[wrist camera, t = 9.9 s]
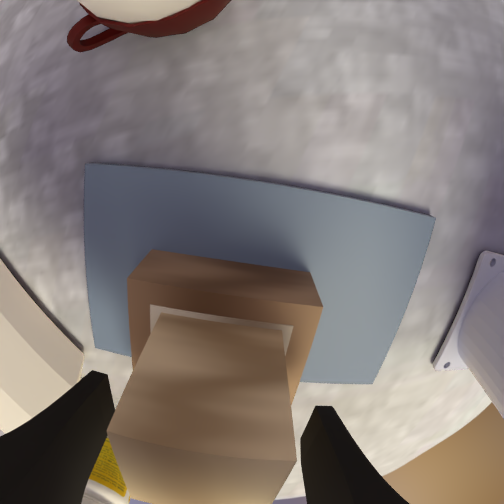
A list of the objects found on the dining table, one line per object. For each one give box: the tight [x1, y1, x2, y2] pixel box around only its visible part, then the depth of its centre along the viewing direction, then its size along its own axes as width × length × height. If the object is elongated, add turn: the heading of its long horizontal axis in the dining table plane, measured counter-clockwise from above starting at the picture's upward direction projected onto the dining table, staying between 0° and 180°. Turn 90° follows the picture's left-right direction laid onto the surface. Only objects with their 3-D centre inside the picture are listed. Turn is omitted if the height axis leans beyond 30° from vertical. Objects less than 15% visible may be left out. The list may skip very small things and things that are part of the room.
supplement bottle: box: [81, 436, 131, 504], centre depth 15 cm, size 5×5×8 cm
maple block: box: [107, 312, 297, 504], centre depth 9 cm, size 4×4×6 cm
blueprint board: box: [84, 163, 436, 384], centre depth 14 cm, size 16×10×1 cm, turn 81°
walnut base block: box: [127, 249, 323, 404], centre depth 13 cm, size 7×7×3 cm
